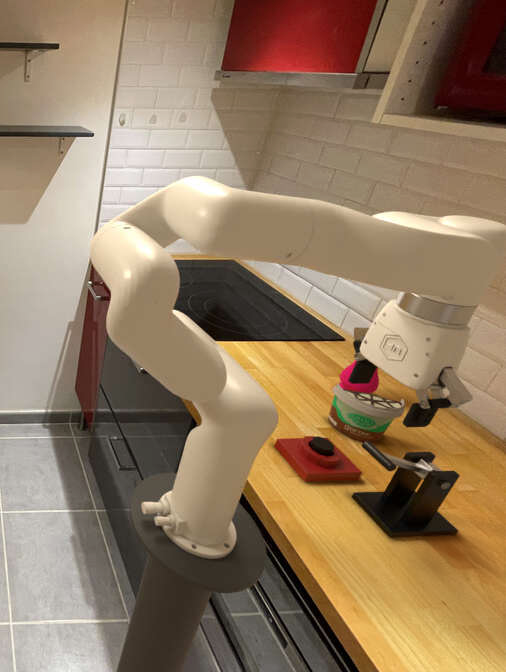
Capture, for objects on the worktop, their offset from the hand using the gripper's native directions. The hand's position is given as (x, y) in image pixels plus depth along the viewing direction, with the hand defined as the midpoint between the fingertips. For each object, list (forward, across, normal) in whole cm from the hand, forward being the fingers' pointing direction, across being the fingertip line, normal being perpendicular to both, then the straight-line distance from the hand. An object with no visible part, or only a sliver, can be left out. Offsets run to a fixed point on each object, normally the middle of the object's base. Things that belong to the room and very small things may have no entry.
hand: (384, 402), depth 69 cm
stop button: (+22, -12, +7) cm, 26 cm away
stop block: (+26, -12, +7) cm, 30 cm away
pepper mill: (+26, -32, +32) cm, 52 cm away
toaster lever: (+14, 0, +9) cm, 17 cm away
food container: (+26, -19, +22) cm, 39 cm away
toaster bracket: (+26, 0, +14) cm, 30 cm away
